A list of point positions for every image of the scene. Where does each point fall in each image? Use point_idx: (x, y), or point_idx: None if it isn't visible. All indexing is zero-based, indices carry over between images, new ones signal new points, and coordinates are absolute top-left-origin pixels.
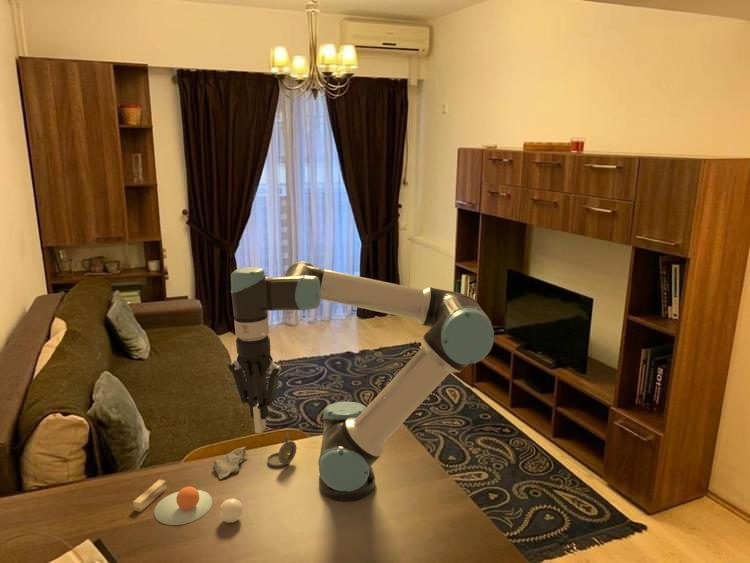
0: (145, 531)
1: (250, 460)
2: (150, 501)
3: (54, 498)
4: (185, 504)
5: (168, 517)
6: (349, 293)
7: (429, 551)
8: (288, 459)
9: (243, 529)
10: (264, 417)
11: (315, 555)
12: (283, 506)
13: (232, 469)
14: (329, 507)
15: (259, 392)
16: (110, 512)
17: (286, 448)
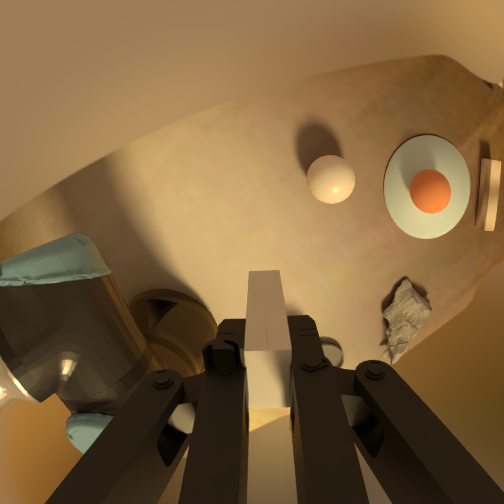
0: (449, 112)
1: (374, 344)
2: (481, 183)
3: None
4: (424, 170)
5: (437, 151)
6: None
7: (11, 223)
8: None
9: (289, 159)
10: (224, 325)
11: (129, 146)
12: (248, 245)
13: (393, 306)
14: (165, 269)
15: (218, 454)
16: None
17: None
